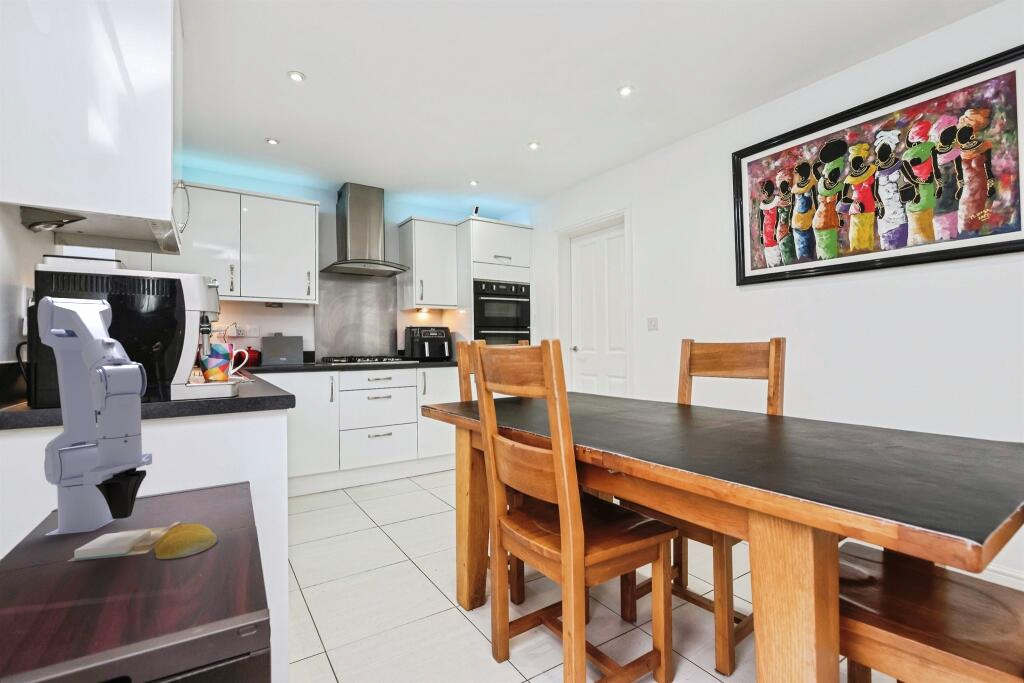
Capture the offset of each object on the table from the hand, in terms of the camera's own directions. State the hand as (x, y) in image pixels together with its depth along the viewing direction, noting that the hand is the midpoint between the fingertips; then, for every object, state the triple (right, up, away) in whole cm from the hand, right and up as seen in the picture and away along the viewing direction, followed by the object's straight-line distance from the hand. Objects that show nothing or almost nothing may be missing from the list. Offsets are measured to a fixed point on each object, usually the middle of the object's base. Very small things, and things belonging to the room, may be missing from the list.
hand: (122, 517), depth 80 cm
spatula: (+5, -4, +2) cm, 7 cm away
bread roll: (+13, -5, -3) cm, 14 cm away
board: (+1, -5, +1) cm, 5 cm away
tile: (0, -4, +1) cm, 4 cm away
